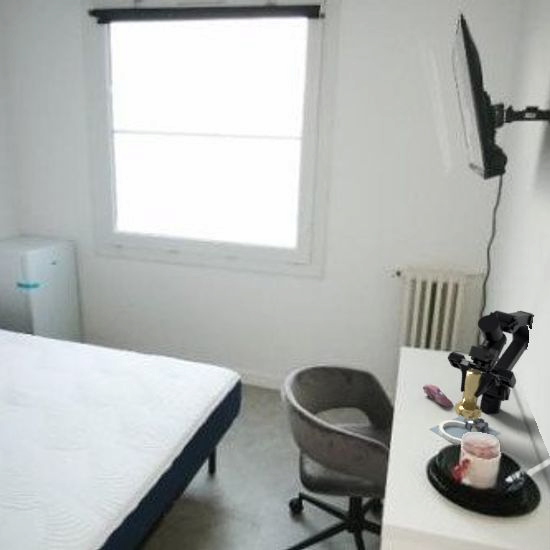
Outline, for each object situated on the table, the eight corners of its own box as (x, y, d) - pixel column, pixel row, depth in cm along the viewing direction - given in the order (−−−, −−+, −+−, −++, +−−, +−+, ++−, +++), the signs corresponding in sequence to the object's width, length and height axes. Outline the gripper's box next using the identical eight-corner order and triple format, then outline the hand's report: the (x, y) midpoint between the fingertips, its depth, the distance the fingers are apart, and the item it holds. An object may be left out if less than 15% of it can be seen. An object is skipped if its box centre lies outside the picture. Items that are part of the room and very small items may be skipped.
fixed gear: (472, 418, 155) (473, 411, 154) (492, 428, 150) (493, 421, 149) (458, 424, 151) (459, 416, 151) (478, 435, 146) (479, 427, 145)
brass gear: (456, 404, 152) (462, 364, 149) (482, 411, 149) (489, 370, 146) (452, 415, 146) (459, 374, 143) (479, 422, 143) (486, 380, 140)
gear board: (464, 417, 157) (465, 410, 157) (499, 436, 148) (501, 429, 147) (428, 432, 148) (429, 425, 147) (463, 453, 138) (465, 446, 138)
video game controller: (424, 399, 170) (418, 384, 168) (434, 392, 171) (429, 376, 169) (443, 414, 161) (438, 398, 159) (454, 407, 162) (449, 390, 160)
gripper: (454, 326, 151) (431, 370, 146) (519, 345, 138) (496, 394, 133) (463, 344, 158) (441, 387, 153) (525, 364, 145) (503, 411, 141)
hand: (468, 394), depth 145 cm, fingers closed on brass gear, 4 cm apart
